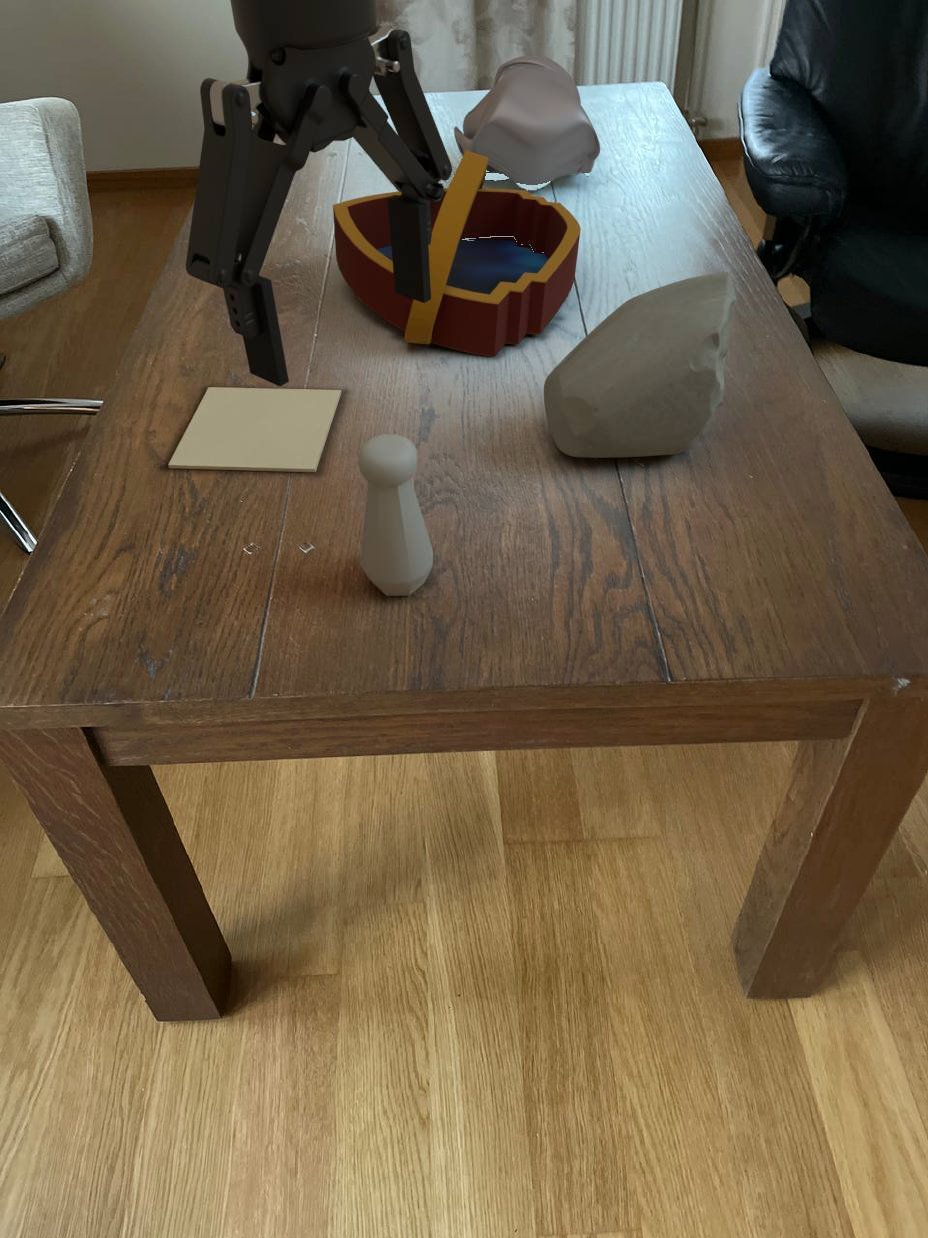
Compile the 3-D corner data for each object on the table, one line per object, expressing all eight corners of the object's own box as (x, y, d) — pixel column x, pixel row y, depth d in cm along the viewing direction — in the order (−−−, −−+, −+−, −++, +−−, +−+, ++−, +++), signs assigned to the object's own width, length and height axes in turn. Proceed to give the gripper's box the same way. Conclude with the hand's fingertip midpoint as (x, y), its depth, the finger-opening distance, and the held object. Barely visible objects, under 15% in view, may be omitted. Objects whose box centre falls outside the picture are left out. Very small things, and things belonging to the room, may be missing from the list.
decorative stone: (531, 415, 94) (536, 268, 84) (696, 395, 96) (721, 249, 86) (563, 486, 86) (572, 332, 75) (743, 462, 88) (777, 309, 77)
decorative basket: (542, 389, 102) (571, 254, 91) (284, 329, 104) (283, 189, 93) (583, 261, 126) (610, 142, 115) (373, 214, 128) (380, 93, 117)
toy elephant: (458, 213, 135) (464, 107, 123) (449, 146, 145) (453, 42, 133) (596, 212, 137) (615, 109, 125) (577, 146, 147) (593, 44, 135)
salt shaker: (433, 604, 75) (424, 468, 66) (360, 605, 75) (342, 469, 66) (435, 556, 79) (428, 422, 70) (367, 557, 79) (351, 422, 70)
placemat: (315, 472, 88) (315, 468, 88) (168, 468, 89) (167, 464, 89) (341, 393, 98) (341, 389, 98) (209, 390, 99) (208, 386, 99)
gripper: (142, 5, 39) (241, 439, 54) (505, -87, 53) (504, 280, 68) (38, -16, 43) (158, 397, 58) (404, -97, 56) (425, 254, 71)
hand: (345, 334), depth 63 cm, fingers open, 13 cm apart
